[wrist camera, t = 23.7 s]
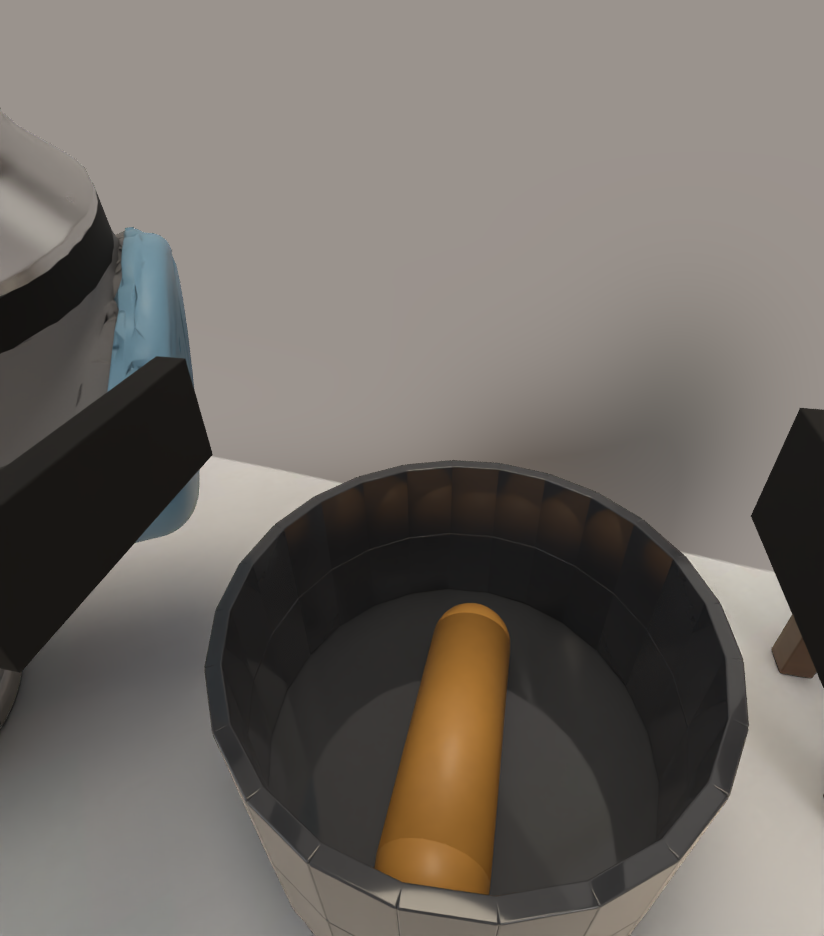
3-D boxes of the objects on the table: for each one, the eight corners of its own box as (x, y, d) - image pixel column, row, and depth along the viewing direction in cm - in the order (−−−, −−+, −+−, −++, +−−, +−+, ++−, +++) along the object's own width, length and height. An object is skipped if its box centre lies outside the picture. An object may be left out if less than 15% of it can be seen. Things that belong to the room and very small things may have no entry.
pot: (196, 709, 29) (135, 576, 23) (470, 545, 38) (478, 421, 32) (430, 1195, 16) (430, 1182, 10) (753, 775, 25) (850, 640, 20)
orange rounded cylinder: (479, 990, 18) (489, 928, 16) (360, 956, 19) (356, 893, 17) (508, 649, 31) (516, 593, 29) (438, 636, 32) (441, 581, 30)
